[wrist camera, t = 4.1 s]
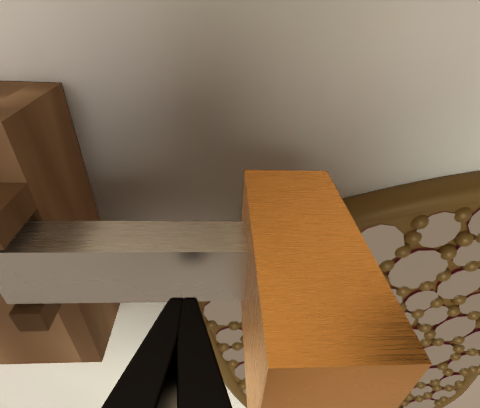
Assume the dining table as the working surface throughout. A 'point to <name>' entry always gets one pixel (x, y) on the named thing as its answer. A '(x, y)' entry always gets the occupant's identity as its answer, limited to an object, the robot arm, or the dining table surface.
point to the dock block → (45, 209)
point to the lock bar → (247, 288)
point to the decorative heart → (405, 282)
